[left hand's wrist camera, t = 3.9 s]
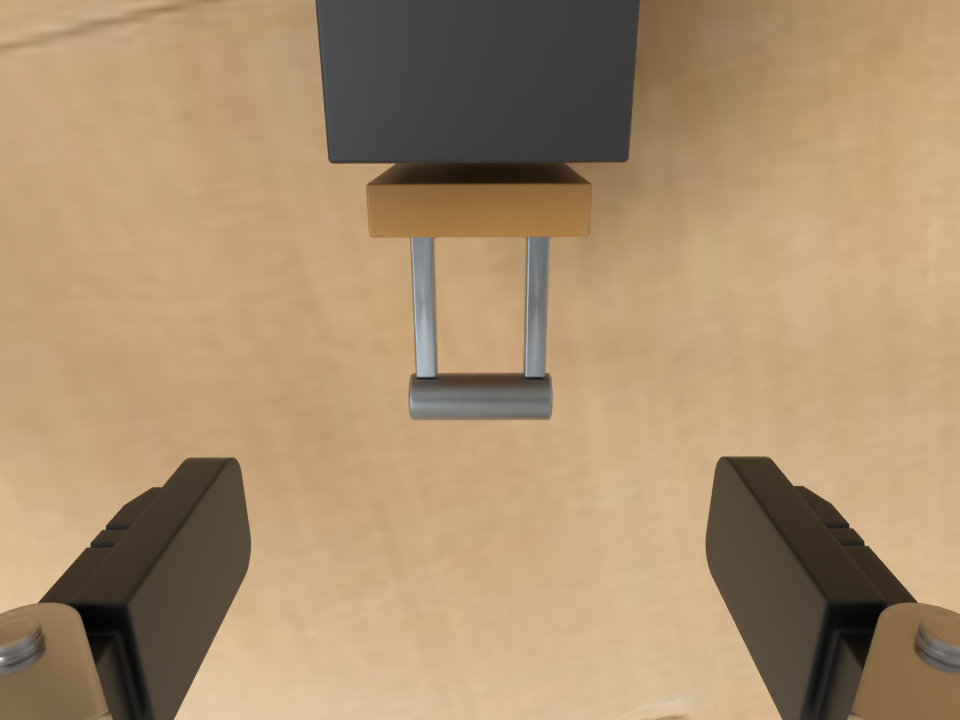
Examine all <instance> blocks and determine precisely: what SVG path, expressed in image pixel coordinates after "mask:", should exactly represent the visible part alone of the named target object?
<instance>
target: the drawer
mask: <svg viewBox="0 0 960 720" xmlns="http://www.w3.org/2000/svg"><path fill="white" fill-rule="evenodd" d="M591 189H592V185H591V183H590V182H588V181H587V180H586V179H584V178H583V177H582V176H580V175H579V174H578V173H577V172H575V171H574V170H573V169H571V168H570V167H569V166H568V165H566V164H565V163H397V164H395V165H394V166H392V167H391V168H390V169H388V170H387V171H385V172H384V173H382V174H381V175H380V176H378V177H377V178H375V179H374V180H372V181H371V182H370V183H368V184H367V185H366V192H367V208H368V224H369V235H370V237H410V242H411V266H412V290H413V314H414V339H415V363H416V373H413V374H411V377H410V381H409V413H410V417H411V419H413V420H549V419H550V418H551V415H552V380H551V376H550V374H549V373H545V362H546V331H547V300H548V269H549V238H550V237H587V236H588V235H589V226H590V208H591ZM434 237H526V257H525V307H524V358H523V371H524V373H437V372H438V354H437V319H436V285H435V250H434Z"/></svg>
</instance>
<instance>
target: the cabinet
mask: <svg viewBox="0 0 960 720" xmlns="http://www.w3.org/2000/svg"><path fill="white" fill-rule="evenodd" d="M639 4H640V0H316V11H317V24H318V36H319V48H320V61H321V73H322V85H323V98H324V110H325V122H326V134H327V147H328V159H329V161H330V163H333V164H338V163H584V162H626V161H627V160H628V158H629V144H630V130H631V116H632V102H633V88H634V74H635V60H636V46H637V32H638V18H639Z"/></svg>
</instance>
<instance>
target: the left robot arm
mask: <svg viewBox="0 0 960 720" xmlns="http://www.w3.org/2000/svg"><path fill="white" fill-rule="evenodd" d="M250 553H251V537H250V529H249V522H248V515H247V508H246V501H245V494H244V487H243V480H242V473H241V468H240V465H239V463H238V461H237V460H236V459H235V458H187V459H186V460H185V461H184V462H183V463H182V464H181V465H180V466H179V468H178V469H177V470H176V471H175V473H174V474H173V475H172V476H171V477H170V479H169V480H168V481H167V482H166V483H165V485H164V486H163V487H153V488H151V489H149V490H148V491H146V492H145V493H143V494H141V495H140V496H138V497H137V498H135V499H133V500H132V501H130V502H129V503H127V504H125V505H124V506H123V507H122V508H121V510H120V511H119V512H118V513H117V514H116V515H115V516H114V517H113V519H112V520H111V521H110V522H109V523H108V524H107V525H106V530H102V531H101V532H100V533H99V534H98V536H97V537H96V538H95V539H94V540H93V541H92V542H91V547H90V548H86V549H85V550H84V551H83V552H82V554H81V555H80V556H79V557H78V558H77V559H76V560H75V562H74V563H73V564H72V565H71V566H70V567H69V568H68V569H67V571H66V572H65V573H64V574H63V575H62V576H61V577H60V578H59V580H58V581H57V582H56V583H55V584H54V585H53V586H52V588H51V589H50V590H49V591H48V592H47V593H46V594H45V595H44V597H43V598H42V599H41V600H40V601H39V602H38V603H37V604H31V605H27V606H22V607H19V608H15V609H12V610H9V611H7V612H4V613H2V614H0V720H174V718H175V716H176V714H177V712H178V710H179V708H180V706H181V704H182V702H183V700H184V698H185V696H186V694H187V692H188V690H189V688H190V686H191V684H192V682H193V680H194V678H195V676H196V674H197V672H198V670H199V668H200V666H201V664H202V662H203V660H204V658H205V656H206V654H207V652H208V650H209V648H210V646H211V644H212V642H213V640H214V638H215V636H216V634H217V632H218V630H219V628H220V626H221V624H222V622H223V620H224V618H225V616H226V614H227V611H228V609H229V607H230V605H231V603H232V601H233V599H234V597H235V595H236V593H237V591H238V589H239V587H240V585H241V583H242V581H243V579H244V577H245V575H246V572H247V569H248V565H249V560H250ZM706 555H707V562H708V566H709V569H710V572H711V575H712V577H713V579H714V581H715V583H716V585H717V587H718V589H719V591H720V593H721V595H722V597H723V599H724V601H725V603H726V606H727V608H728V610H729V612H730V614H731V616H732V618H733V620H734V622H735V624H736V626H737V628H738V630H739V632H740V634H741V636H742V638H743V640H744V642H745V644H746V646H747V648H748V650H749V652H750V654H751V656H752V658H753V661H754V663H755V665H756V667H757V669H758V671H759V673H760V675H761V677H762V679H763V681H764V683H765V685H766V687H767V689H768V691H769V693H770V695H771V697H772V699H773V701H774V703H775V705H776V707H777V709H778V711H779V713H780V716H781V718H782V720H960V614H958V613H956V612H953V611H951V610H948V609H945V608H941V607H938V606H933V605H929V604H922V603H918V602H917V601H916V600H915V599H914V598H913V596H912V595H911V594H910V593H909V592H908V591H907V590H906V589H905V587H904V586H903V585H902V584H901V583H900V582H899V581H898V579H897V578H896V577H895V576H894V575H893V574H892V573H891V571H890V570H889V569H888V568H887V567H886V566H885V565H884V563H883V562H882V561H881V560H880V559H879V558H878V557H877V555H876V554H875V553H874V552H873V551H872V550H871V549H870V547H869V546H865V545H864V541H863V539H862V538H861V537H860V536H859V535H858V534H857V533H856V531H855V530H854V529H850V528H849V524H848V522H847V521H846V520H845V519H844V518H843V517H842V516H841V514H840V513H839V512H838V511H837V510H836V509H835V508H834V506H833V505H832V504H831V503H829V502H828V501H826V500H824V499H823V498H821V497H820V496H818V495H816V494H815V493H813V492H812V491H810V490H808V489H807V488H805V487H804V486H793V485H792V484H791V482H790V481H789V480H788V479H787V478H786V476H785V475H784V474H783V473H782V471H781V470H780V469H779V468H778V467H777V465H776V464H775V463H774V462H773V461H772V460H771V459H770V458H769V457H721V458H720V459H719V460H718V462H717V465H716V469H715V475H714V482H713V489H712V496H711V503H710V510H709V517H708V525H707V532H706Z"/></svg>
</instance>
